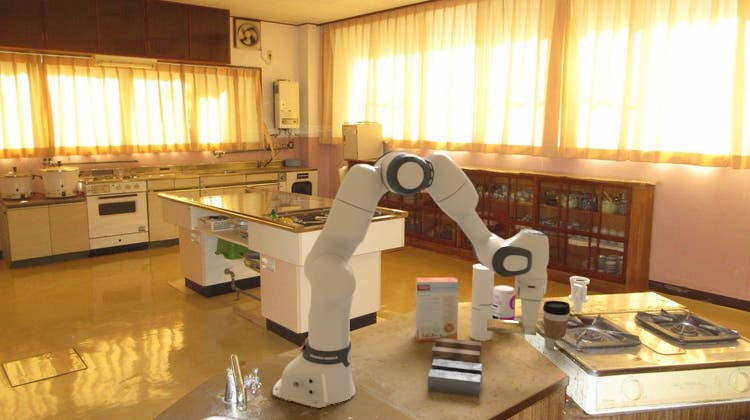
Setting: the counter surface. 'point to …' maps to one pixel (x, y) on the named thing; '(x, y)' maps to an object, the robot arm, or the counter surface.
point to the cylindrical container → (481, 302)
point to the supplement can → (504, 302)
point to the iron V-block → (455, 378)
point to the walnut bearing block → (456, 350)
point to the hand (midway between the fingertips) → (527, 330)
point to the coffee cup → (555, 321)
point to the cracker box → (436, 308)
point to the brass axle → (508, 326)
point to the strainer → (578, 292)
